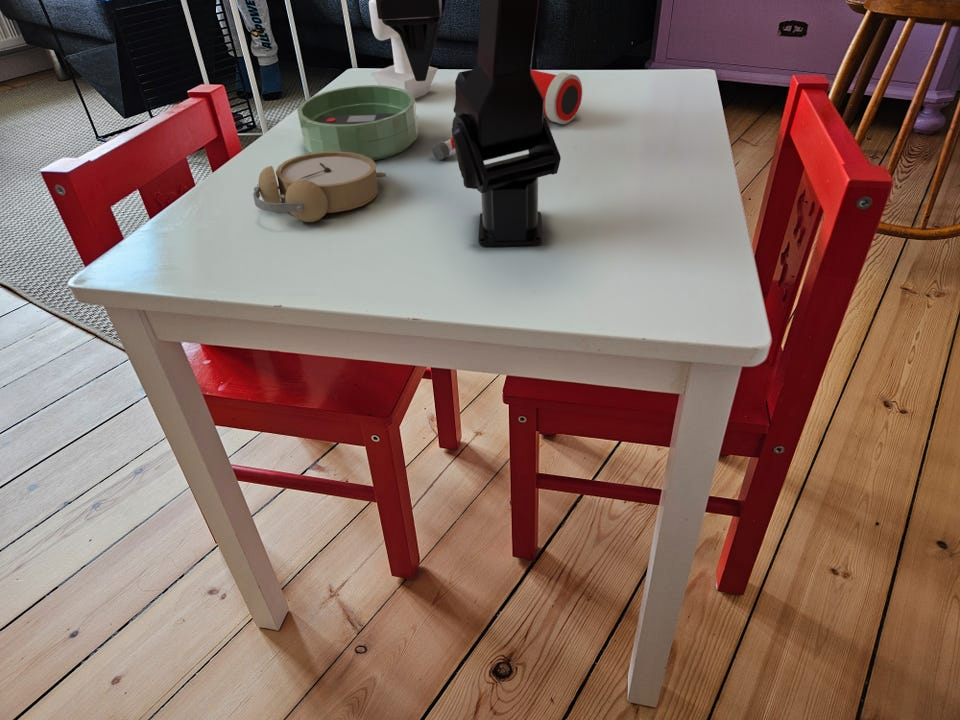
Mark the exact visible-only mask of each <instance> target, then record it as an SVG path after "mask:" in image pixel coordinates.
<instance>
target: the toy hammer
mask: <svg viewBox="0 0 960 720" xmlns="http://www.w3.org/2000/svg"><path fill="white" fill-rule="evenodd" d="M531 75H532V77H533V79H534V81H535V83H536V85H537V86H538V88H539V90H540V92H541V94H542V96H543V98H544V115H545V117H547V119H548V120H549V121H550V122H553V123H556V124H560V125H566V124H570V122H571V121H572V120H573V119H574V118H575V117H576V115H577V114H578V112H579V110H580V107H581V105H582V104H581V103H582V99H583V85H582V81H581V79H580V77H579V76H577V75H576V74H572V73H568V72H560V73H558V74H554V73H549V72H544V71H539V70H535V69H531ZM454 149H455V145H454V141H453V138H452V137H450V138H449V139H447V140H446V141H439V142H437V143H436V144H434V145H433V146H432V148H431V152H432V155H433V156H434V158H435V159H437V161H442V160H444V159H445V158H447V157H448V156H449V155H450V152H452V151H453V150H454Z"/></svg>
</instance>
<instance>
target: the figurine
mask: <svg viewBox="0 0 960 720" xmlns="http://www.w3.org/2000/svg"><path fill="white" fill-rule="evenodd" d="M368 10H369V16H370V22H371V23H370V24H371V30H372V33H373V35H374V37H375V39H376V40H378V41H386V40H389V39H390V41H391V49H392V58H393V64H392V65H389V66H387V67H384V68H382V69H379V70H376V71H374V72H371V73H370V75H371V77H372V78H373V79H374V81H375V83H376V84H377V85H379V86H391V87H395V88H400V89H403V90H405V91H407V92H409V93H411V94H412V95H413V97H414V98H415V100H416V99H418V98H420V97H423V96H426V95H427V94H428V92H429V90H430V87H431V85H432V83H433V80H434V79H435V77H436V74H437V71H438V69H439V68H438V67H433V66H431V65H429V69H428V73H427V77H426V80H425V81H416V80H415V77H414V74H413V71H412V68H411V65H410V63H409V60H408V57H407V54H406V51H405V48H404V46H403V43H402V40H401V38H400V35H399V34H398V33H397V32H396V31H394V30H393V29H392V28H391V27H389V26H386V25H385V24H384V23H383V22H382V19H378V13H377V6H376V0H369V1H368Z"/></svg>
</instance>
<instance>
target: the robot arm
mask: <svg viewBox="0 0 960 720" xmlns="http://www.w3.org/2000/svg"><path fill="white" fill-rule="evenodd" d="M479 3H480V5H479V21H478V39H477V58H476V63H475V65H474V66H473V68H472V69H469V70H464V71H459V72H458V74H457V75H456V78H455V81H454V86H455V88H454V89H455V100H454V106H453V113H455V115H454V117H453V119H452V124H451V126H452V127H451V138H453V141H454V145H455V154H456V159H457V164H458V169H459V171H460V175H461V178H462V180H463V187H465V188H466V189H473V190H477V191H478V192H479V193H480V194H481V197H480V198H481V213H480V214H479V226H478V240H477V241H478V243H477V244H478V246H481V247H497V246H501V247H503V246H531V245H532V246H534V245H535V246H536V245H537V246H538V245H542V244H543V242H544V241H543V239H544V238H543V226H542V225H543V224H542V213H541V211H539V178H541V177H545V176H549V175H553V176H554V175H557V174H558V171H559V168H560V164H561V159H562V157H561V154H560V151H559V149H558V146H557V144H556V141H555V138H554V137H553V134H552V131H551V128H550V125H549V123H548V120H547V118H546V116H545V115H544V98H543V96H542V94H541V92H540V90H539V88H538V86H537V85H536V83H535V81H534V79H533V77H532V75H531V70H532V65H533V64H532V63H533V55H534V54H533V53H534V47H535V37H536V30H537V22H538V14H539V13H538V12H539V6H540V0H480V1H479ZM446 5H447V0H376V6H377V13H378V19H382V22H383V23H384V24H385V25H386V26H389V27H391V28H392V29H393V30H394V31H396V32H397V33H398V34H399V35H400V38H401V40H402V43H403V46H404V48H405V51H406V54H407V57H408V60H409V63H410V65H411V68H412V71H413V74H414V77H415V80H416V81H425V80H426V77H427V73H428V69H429V66H431V65H430V64H431V60H432V57H433V55H434V52H435V47H436V44H437V40H438V35H439V31H440V28H441V24H442V20H443V16H444V12H445V8H446ZM526 151H528V153H525V154H522V155H518V156H514V157H509V158H506V159H503V160H497V161H494V162H490V163H486V164H485V161H490V160H494V159H497V158H498V159H499V158H502V157H505V156H506V157H507V156H511V155H514V154H519V153H522V152H526Z"/></svg>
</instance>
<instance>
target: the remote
mask: <svg viewBox="0 0 960 720" xmlns="http://www.w3.org/2000/svg"><path fill="white" fill-rule="evenodd" d="M395 114H397V113H389V114H362V115H335V116H320V118H319V119H318V121H317V122H320V123H326V124H337V125H340V124H359V123H366V122H372V121H377V120H380V119H384V118H388V117H390V116H393V115H395Z"/></svg>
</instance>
